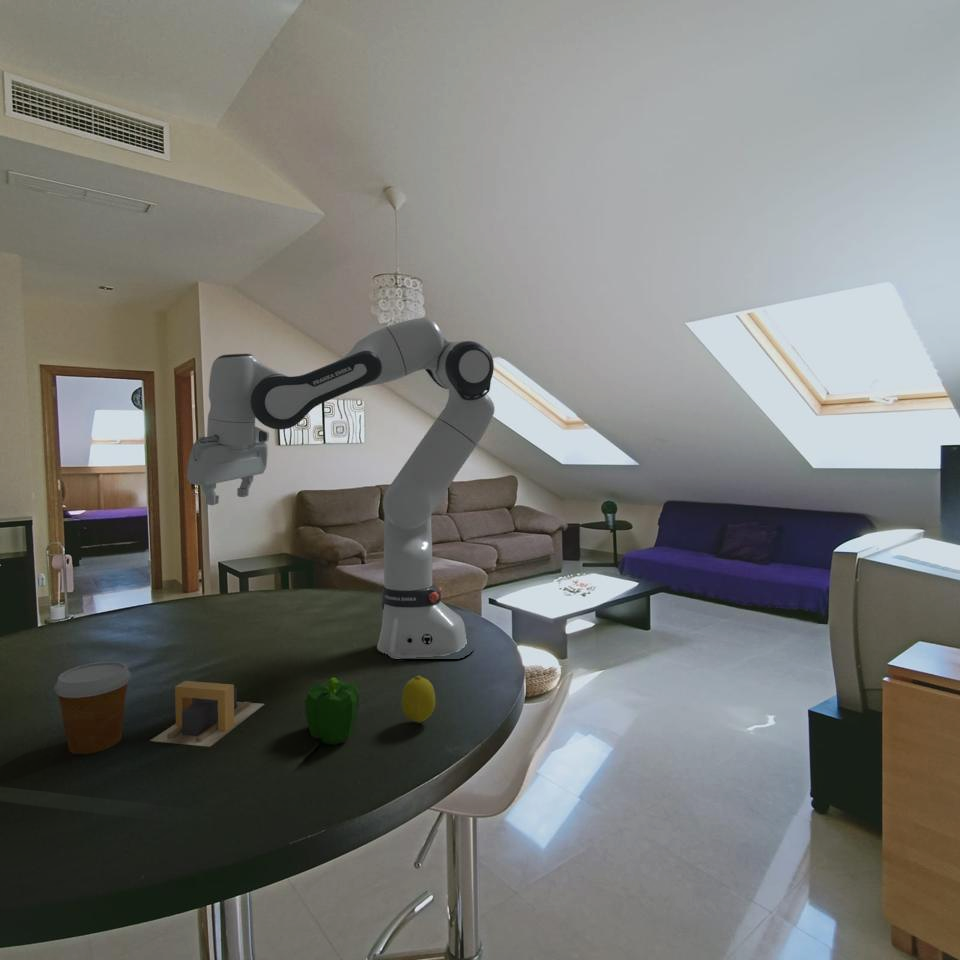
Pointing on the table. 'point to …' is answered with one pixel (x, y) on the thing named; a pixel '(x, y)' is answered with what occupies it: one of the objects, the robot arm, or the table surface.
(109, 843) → the table surface
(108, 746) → the disposable coffee cup
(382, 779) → the table surface
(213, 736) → the board
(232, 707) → the wooden arch block
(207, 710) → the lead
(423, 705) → the lemon
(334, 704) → the bell pepper
